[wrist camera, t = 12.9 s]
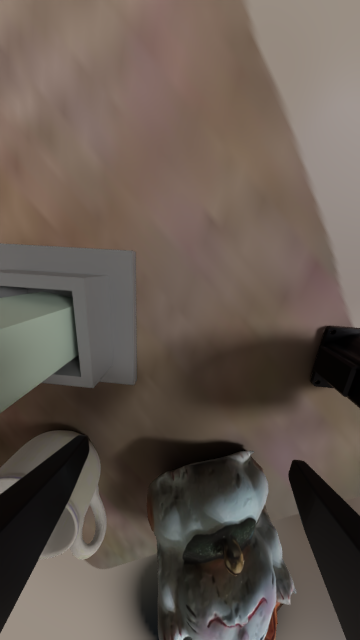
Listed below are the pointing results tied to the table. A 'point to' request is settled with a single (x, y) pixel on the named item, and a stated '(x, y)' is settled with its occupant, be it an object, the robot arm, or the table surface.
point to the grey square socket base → (83, 305)
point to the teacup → (82, 496)
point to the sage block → (34, 341)
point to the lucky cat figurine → (217, 552)
